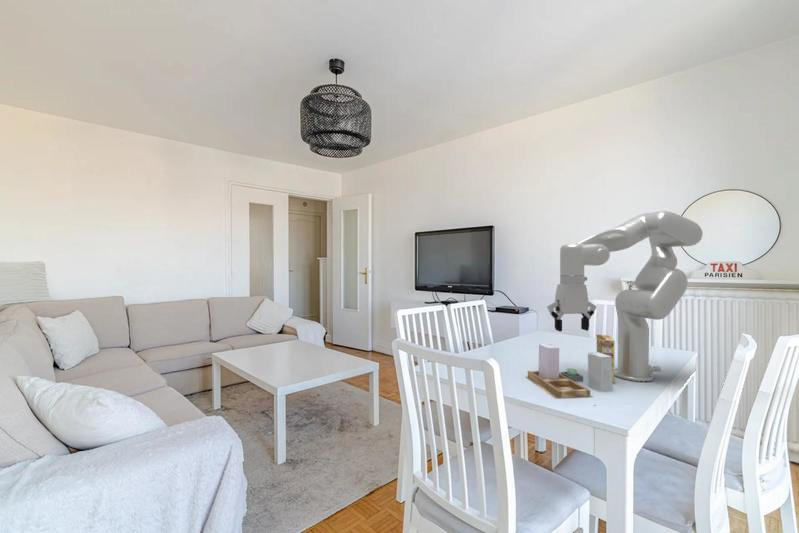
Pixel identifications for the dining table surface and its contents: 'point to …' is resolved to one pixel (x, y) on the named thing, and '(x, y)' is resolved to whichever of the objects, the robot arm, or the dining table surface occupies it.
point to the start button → (571, 372)
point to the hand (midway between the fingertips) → (571, 330)
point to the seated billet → (548, 361)
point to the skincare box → (600, 371)
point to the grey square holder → (573, 377)
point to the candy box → (606, 348)
